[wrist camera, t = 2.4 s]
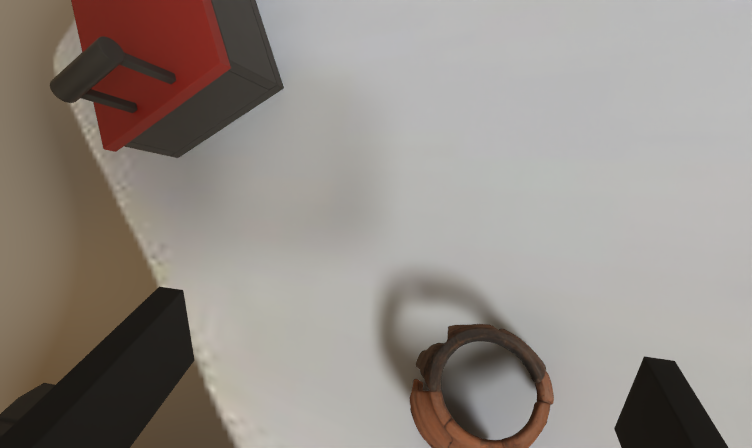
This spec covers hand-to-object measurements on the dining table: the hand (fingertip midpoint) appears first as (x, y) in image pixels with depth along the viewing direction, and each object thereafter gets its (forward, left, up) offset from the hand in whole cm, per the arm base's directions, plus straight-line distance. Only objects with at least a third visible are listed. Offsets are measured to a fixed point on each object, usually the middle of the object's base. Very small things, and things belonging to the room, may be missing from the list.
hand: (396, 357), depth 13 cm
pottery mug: (+7, +4, -18) cm, 20 cm away
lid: (+11, -36, -14) cm, 41 cm away
